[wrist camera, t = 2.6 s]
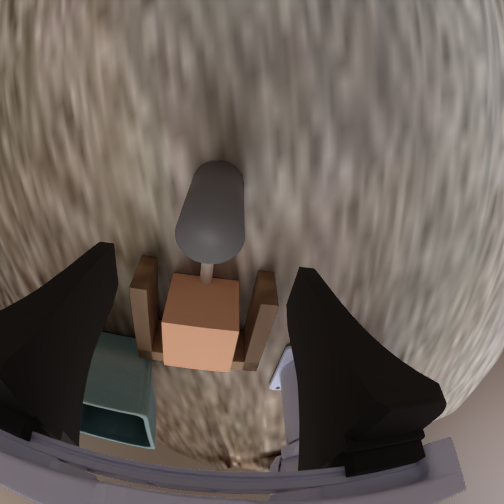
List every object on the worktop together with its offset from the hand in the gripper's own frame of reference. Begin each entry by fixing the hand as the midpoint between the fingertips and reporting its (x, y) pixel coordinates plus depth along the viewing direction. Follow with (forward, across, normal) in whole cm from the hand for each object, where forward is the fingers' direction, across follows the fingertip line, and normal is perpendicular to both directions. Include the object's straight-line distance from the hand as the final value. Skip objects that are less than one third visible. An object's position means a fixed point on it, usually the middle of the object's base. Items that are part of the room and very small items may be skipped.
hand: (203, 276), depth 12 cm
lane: (+9, 0, +10) cm, 13 cm away
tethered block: (+9, 0, +5) cm, 10 cm away
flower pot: (+9, +8, +18) cm, 22 cm away
